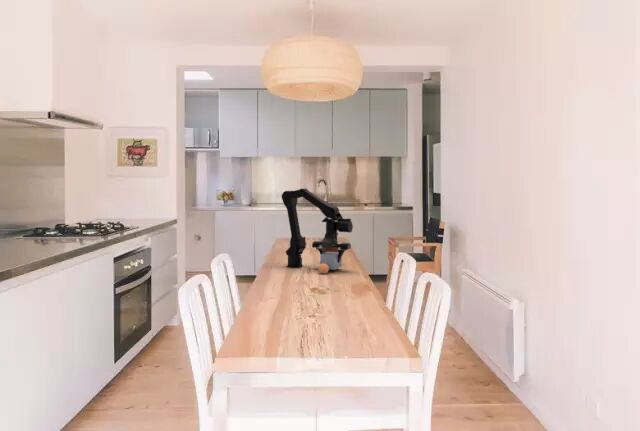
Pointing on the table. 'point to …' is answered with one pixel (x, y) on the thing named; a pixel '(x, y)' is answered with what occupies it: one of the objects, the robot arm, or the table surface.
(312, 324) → the table surface
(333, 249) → the disposable coffee cup
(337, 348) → the table surface
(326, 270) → the ball
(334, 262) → the grey rectangular block
